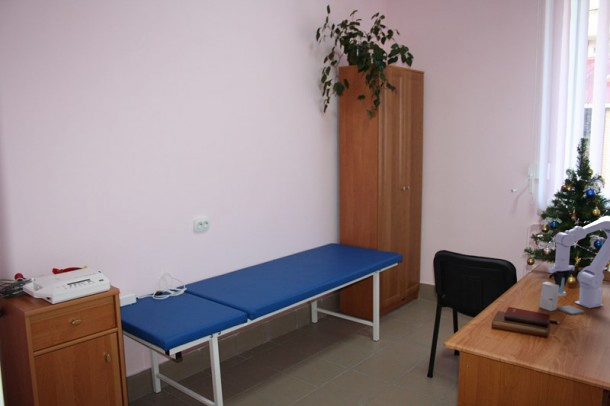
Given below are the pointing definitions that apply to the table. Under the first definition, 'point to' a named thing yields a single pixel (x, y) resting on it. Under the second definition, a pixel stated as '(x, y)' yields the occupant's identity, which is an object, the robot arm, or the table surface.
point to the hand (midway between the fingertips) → (560, 285)
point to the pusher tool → (562, 288)
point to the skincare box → (549, 296)
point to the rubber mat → (570, 310)
